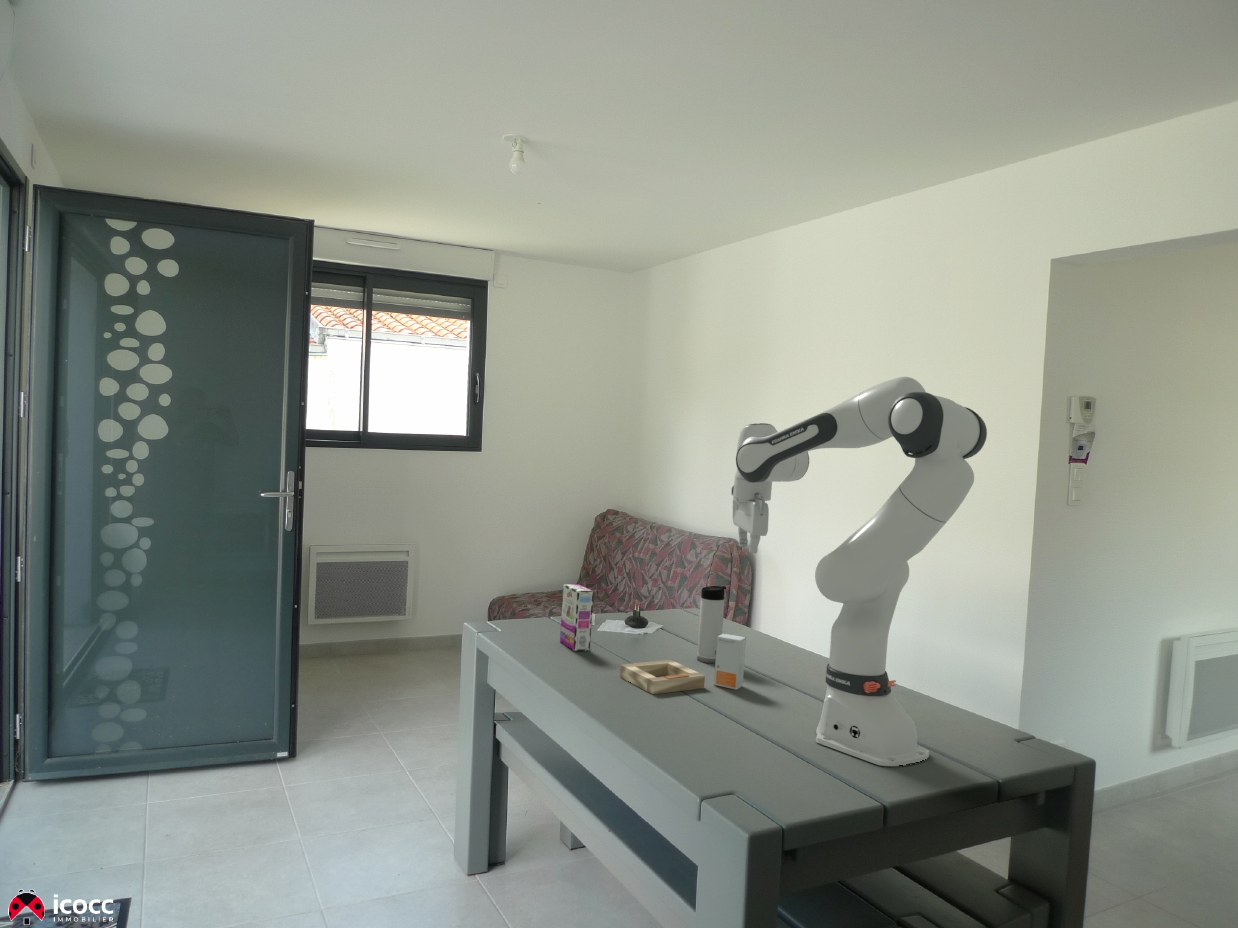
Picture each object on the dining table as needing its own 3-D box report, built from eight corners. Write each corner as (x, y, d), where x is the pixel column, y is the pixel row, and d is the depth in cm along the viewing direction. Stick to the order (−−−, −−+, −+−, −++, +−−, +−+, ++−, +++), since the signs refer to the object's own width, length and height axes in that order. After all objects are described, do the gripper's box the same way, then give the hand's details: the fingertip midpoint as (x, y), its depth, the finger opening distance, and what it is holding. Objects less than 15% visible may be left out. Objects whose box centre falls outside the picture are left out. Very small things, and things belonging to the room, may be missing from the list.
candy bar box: (591, 651, 231) (594, 590, 230) (574, 652, 228) (577, 591, 228) (575, 640, 241) (579, 583, 240) (559, 641, 239) (562, 583, 238)
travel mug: (722, 663, 225) (727, 588, 224) (697, 662, 225) (702, 587, 225) (720, 657, 231) (725, 584, 231) (696, 656, 231) (700, 582, 231)
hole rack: (704, 687, 202) (704, 674, 202) (652, 694, 195) (653, 680, 195) (669, 671, 215) (670, 658, 215) (619, 676, 207) (620, 663, 207)
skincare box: (713, 685, 205) (716, 636, 204) (719, 681, 208) (722, 632, 208) (737, 690, 202) (740, 640, 201) (743, 686, 206) (746, 636, 205)
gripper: (777, 496, 192) (772, 557, 193) (754, 488, 212) (750, 544, 213) (750, 494, 191) (745, 555, 192) (729, 487, 212) (725, 542, 213)
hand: (747, 549), depth 203 cm, fingers open, 8 cm apart
